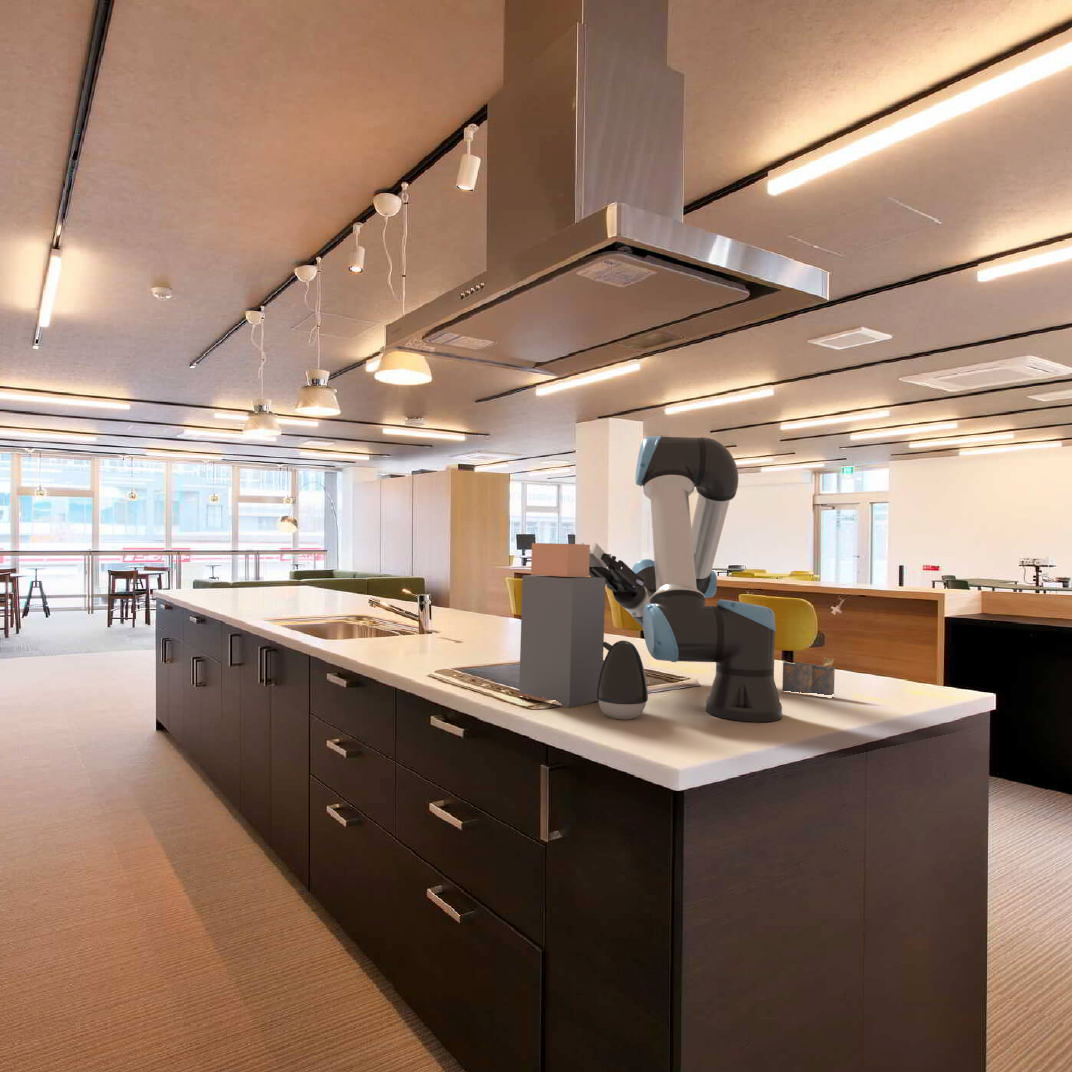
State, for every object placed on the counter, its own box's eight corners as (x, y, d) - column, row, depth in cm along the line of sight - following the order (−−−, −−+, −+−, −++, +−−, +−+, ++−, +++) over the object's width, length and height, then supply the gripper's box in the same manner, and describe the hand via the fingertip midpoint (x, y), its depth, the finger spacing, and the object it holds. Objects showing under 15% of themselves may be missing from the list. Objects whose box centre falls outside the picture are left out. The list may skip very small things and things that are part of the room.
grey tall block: (552, 690, 170) (556, 575, 171) (602, 699, 161) (605, 578, 162) (518, 697, 161) (522, 575, 162) (569, 707, 152) (572, 578, 153)
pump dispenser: (617, 708, 153) (619, 636, 153) (657, 717, 146) (659, 641, 146) (584, 715, 146) (587, 639, 146) (625, 725, 138) (627, 645, 139)
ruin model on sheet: (870, 698, 174) (871, 658, 175) (856, 710, 161) (857, 665, 161) (766, 685, 189) (767, 647, 189) (745, 694, 175) (746, 653, 175)
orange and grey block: (588, 574, 177) (588, 545, 177) (622, 575, 171) (623, 546, 171) (530, 574, 161) (531, 543, 161) (566, 576, 154) (567, 543, 154)
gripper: (656, 612, 177) (610, 563, 162) (601, 607, 187) (554, 560, 172) (665, 584, 180) (620, 534, 165) (610, 581, 190) (564, 534, 175)
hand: (586, 548), depth 168 cm, fingers closed on orange and grey block, 3 cm apart
